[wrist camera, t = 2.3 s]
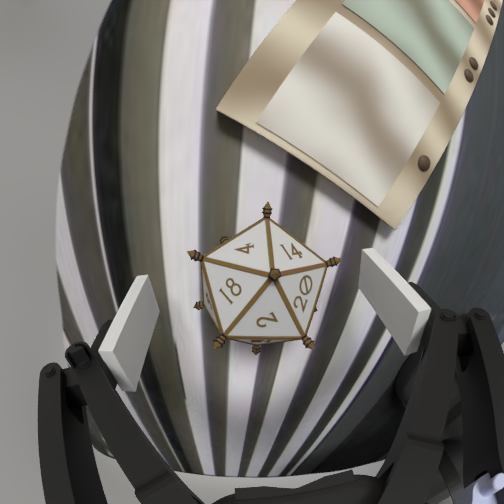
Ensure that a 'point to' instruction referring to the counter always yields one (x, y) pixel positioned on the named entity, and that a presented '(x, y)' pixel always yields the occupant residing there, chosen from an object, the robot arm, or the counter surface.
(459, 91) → the board
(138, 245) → the counter surface
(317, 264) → the game die
